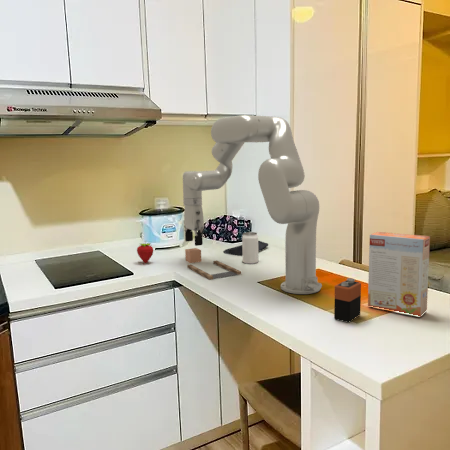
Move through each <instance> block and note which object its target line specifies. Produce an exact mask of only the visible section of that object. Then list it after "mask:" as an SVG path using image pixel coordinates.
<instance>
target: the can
mask: <svg viewBox="0 0 450 450" xmlns="http://www.w3.org/2000/svg"><path fill="white" fill-rule="evenodd" d="M241 238H242V241H241V242H242V243H241V245H242V253H243V256H242V263H244V264H247V265H253V264H254V265H255V264H257V263H258V262H259V252H258V241H259V236H258V232H254V231H248V232H243V233H242V236H241Z"/></svg>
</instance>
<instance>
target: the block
mask: <svg viewBox="0 0 450 450" xmlns="http://www.w3.org/2000/svg"><path fill="white" fill-rule="evenodd" d="M184 253H185V254H184V255H185V261H186V262H187V263H188V264H195V263H200V262H202V249H199V248H197V247H193V248H187V249H184Z"/></svg>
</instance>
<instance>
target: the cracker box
mask: <svg viewBox="0 0 450 450" xmlns="http://www.w3.org/2000/svg"><path fill="white" fill-rule="evenodd" d="M430 241H431V236H428V235H419V234H407V233H396V232H386V231H385V232H383V231H376V232H374V233H370V234H369V246H368V247H369V248H368V249H369V250H368V251H369V254H368V281H367V283H368V285H367V286H368V287H367V291H368V292H367V307H368V306H373V307H379V308H384V309H389V310H394V311H399V312H404V313H409V314H413V315H418V316H421V315H422V314H423V313H424V312H425V311H426V310H428V292H429V268H430V264H429V263H430V245H431V243H430Z"/></svg>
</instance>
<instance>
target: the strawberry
mask: <svg viewBox="0 0 450 450" xmlns="http://www.w3.org/2000/svg"><path fill="white" fill-rule="evenodd" d="M144 242H145V243H140V245H139V246H138V247H137V248H136V253H137V255H138V257H139V258H140V259H141V260H142V262H143V263H144V264H147V263H149V261H150V259H151V258H152V256H153V254H154V247H153V246H152V242H150V243H149V242H148V243H147V241H144Z"/></svg>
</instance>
